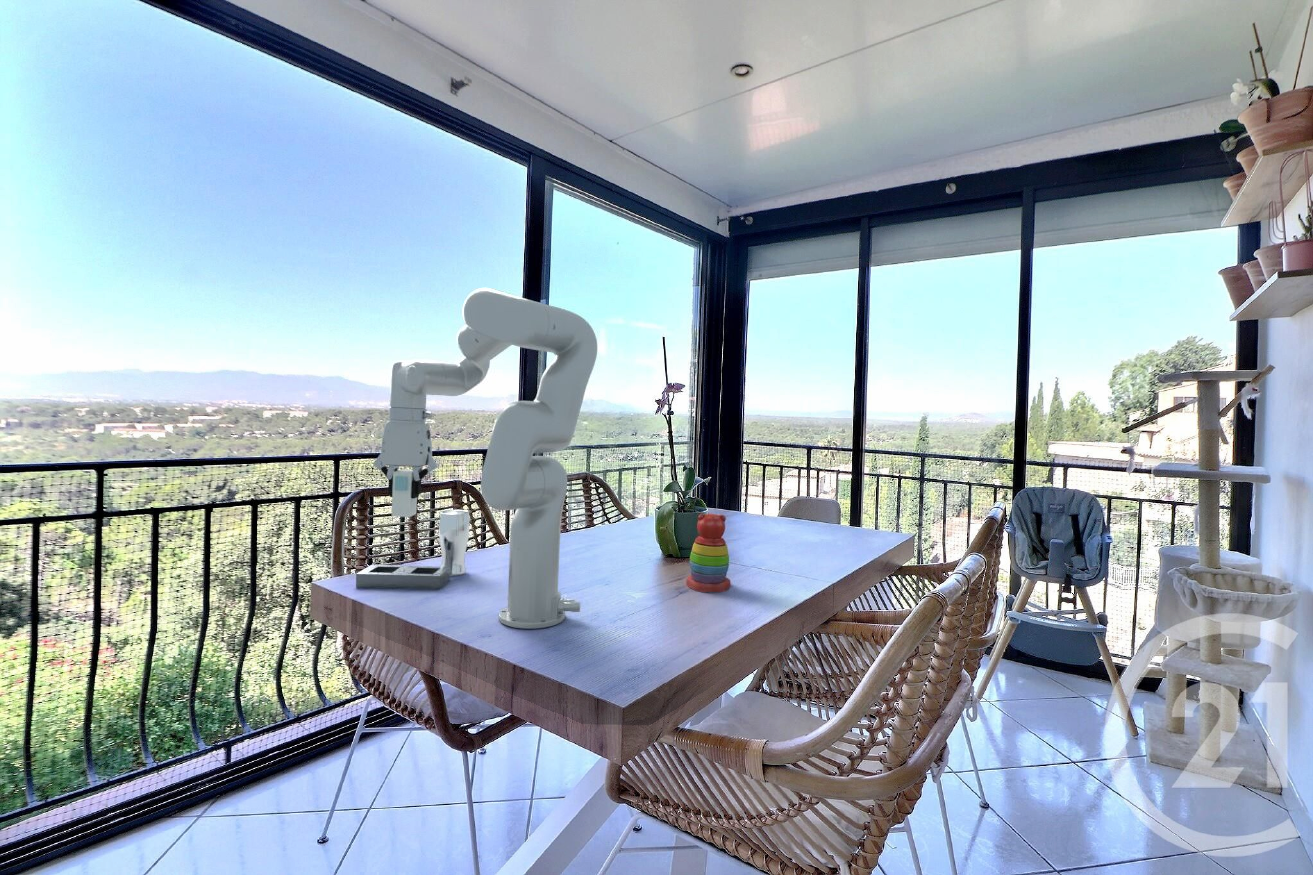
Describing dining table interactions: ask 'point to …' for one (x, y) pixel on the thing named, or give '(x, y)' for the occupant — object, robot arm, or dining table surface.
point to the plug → (403, 494)
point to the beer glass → (454, 540)
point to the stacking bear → (709, 556)
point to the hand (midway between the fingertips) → (404, 496)
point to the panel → (403, 577)
